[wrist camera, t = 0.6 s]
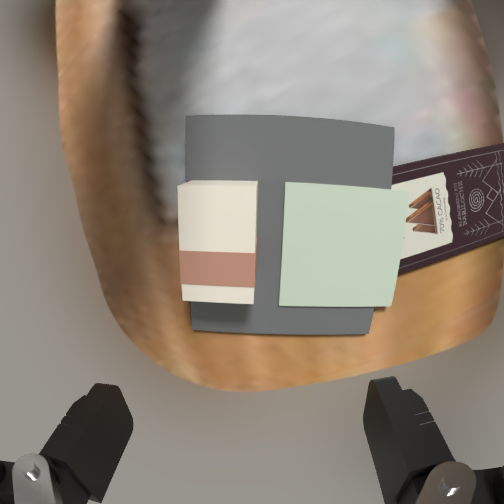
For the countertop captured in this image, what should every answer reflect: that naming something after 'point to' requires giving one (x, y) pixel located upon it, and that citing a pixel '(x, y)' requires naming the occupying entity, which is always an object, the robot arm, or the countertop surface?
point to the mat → (306, 220)
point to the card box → (218, 240)
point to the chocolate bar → (451, 204)
